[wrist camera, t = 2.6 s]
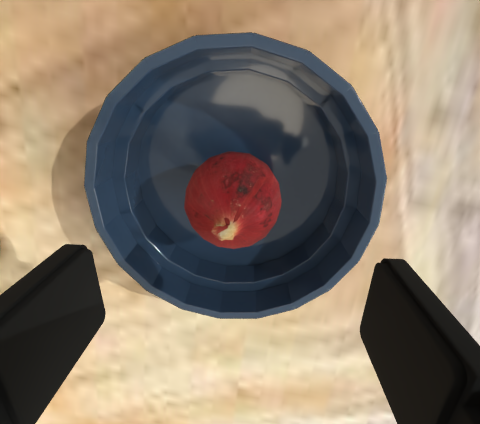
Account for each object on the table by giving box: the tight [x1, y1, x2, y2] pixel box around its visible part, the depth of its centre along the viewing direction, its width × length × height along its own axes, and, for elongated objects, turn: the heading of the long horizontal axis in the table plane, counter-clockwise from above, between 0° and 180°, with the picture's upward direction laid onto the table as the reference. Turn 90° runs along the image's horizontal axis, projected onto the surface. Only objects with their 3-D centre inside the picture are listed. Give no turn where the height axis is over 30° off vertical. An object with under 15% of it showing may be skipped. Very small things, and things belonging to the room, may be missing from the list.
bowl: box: [84, 32, 387, 319], centre depth 19 cm, size 17×17×5 cm
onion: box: [184, 151, 281, 249], centre depth 17 cm, size 6×6×8 cm
